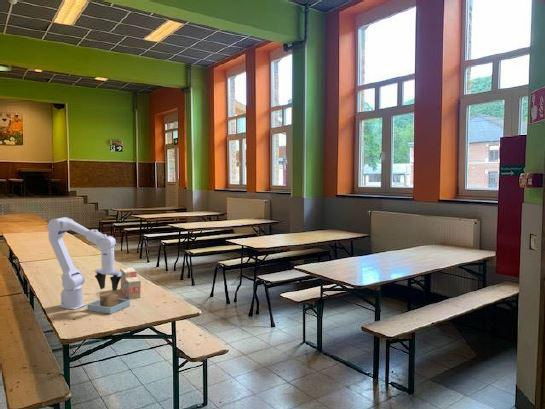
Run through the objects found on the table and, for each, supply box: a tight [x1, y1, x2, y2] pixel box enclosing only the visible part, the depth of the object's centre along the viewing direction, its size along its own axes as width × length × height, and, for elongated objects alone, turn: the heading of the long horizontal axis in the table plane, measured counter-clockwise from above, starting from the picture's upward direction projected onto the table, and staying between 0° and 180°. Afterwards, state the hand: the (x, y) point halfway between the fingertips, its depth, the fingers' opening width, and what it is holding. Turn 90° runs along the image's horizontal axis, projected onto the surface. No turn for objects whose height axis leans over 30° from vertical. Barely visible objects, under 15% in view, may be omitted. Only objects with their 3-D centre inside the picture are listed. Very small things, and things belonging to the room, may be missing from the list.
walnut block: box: [99, 292, 119, 308], centre depth 202 cm, size 6×6×6 cm
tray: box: [86, 297, 131, 315], centre depth 202 cm, size 14×13×3 cm
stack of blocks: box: [119, 266, 141, 300], centre depth 226 cm, size 21×6×12 cm, turn 31°
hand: (108, 289), depth 202 cm, fingers open, 7 cm apart
